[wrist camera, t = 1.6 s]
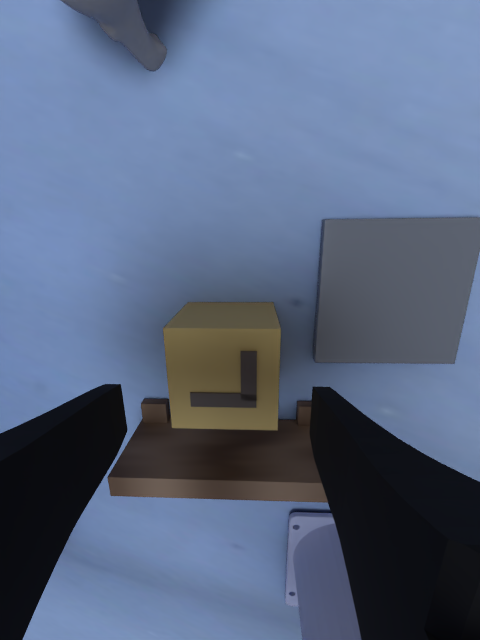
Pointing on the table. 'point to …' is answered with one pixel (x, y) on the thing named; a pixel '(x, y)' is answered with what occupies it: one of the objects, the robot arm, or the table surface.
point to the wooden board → (218, 460)
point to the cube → (224, 365)
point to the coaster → (394, 289)
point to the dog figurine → (124, 28)
